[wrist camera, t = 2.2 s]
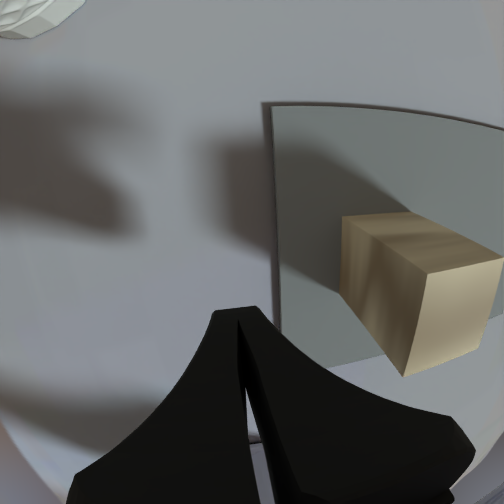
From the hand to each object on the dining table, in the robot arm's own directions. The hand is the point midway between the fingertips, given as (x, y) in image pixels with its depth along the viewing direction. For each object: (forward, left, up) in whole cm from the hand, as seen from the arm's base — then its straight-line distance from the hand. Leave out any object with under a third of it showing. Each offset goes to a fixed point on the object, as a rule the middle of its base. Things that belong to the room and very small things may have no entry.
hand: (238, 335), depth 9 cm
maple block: (0, -7, -5) cm, 9 cm away
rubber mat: (0, -12, -5) cm, 13 cm away
